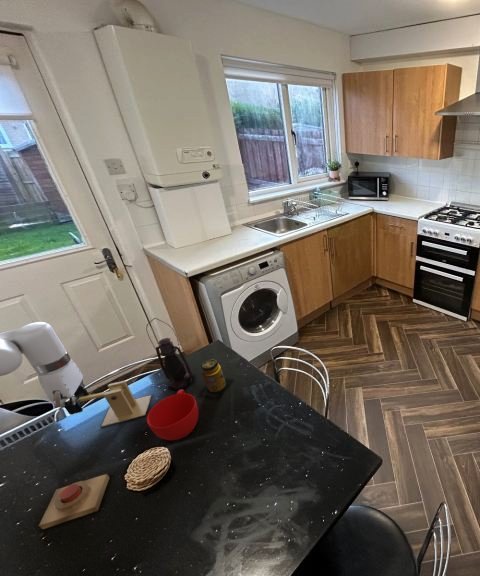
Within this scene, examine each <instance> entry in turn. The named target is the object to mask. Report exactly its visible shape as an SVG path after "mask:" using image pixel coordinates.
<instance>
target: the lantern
mask: <svg viewBox="0 0 480 576" xmlns="http://www.w3.org/2000/svg"><path fill="white" fill-rule="evenodd" d="M155 319H156V320H158V321H159V322H162V323H164V324H166V325H167V326H169V324H168V323H167V322H165V321H163V320H162V319H158V318H157V317H153V318H152V319H151V320H150V321H149V322H148V323H147V324H146V328H145V331H146V334H147V336H148V339H149V340H150V343H151V344H152V347H154V350H155V352H156V356H157V359H158V362H159V365H160V368H161V370H162V372H163V374H164V377H165V378H166V379H167V380H169V388H172V389H174V390H180V389H183V388H185V387H187V386H188V385H189V384H191V383H192V381H193V380H192V379H194V375H193V373H192V370H191V368H190V365H189V363H188V361H187V359H186V358H185V356H184V354H183V352H182V350H181V348H180V347H181V346H180V343H179V338H178V336H177V335H176V332H175V331H174V328H173V327H171V326H170V328H171V330H172V331H173V334H174V335H175V337H176V341H177V345H178V346H176V345H174V343H173V341H172V340H171V338H169V337H165V338H162V339H160V340H159V341H158V343H157V344H158V345H159V346H156V347H155V345H154V343H153V341H152V339H151V337H150V335H149V331H148V325H150V323H152V322H153V321H154V320H155ZM162 357H164V362H163V358H162Z"/></svg>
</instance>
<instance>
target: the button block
mask: <svg viewBox="0 0 480 576" xmlns="http://www.w3.org/2000/svg"><path fill="white" fill-rule="evenodd" d="M109 480H110V476H109V475H108V474H107V473H105V474H101V475H99V476H95V477H92V478H89V479H85V480H80V481H77V482H73V483H72V484H77V485H78V486H79V487H80V488H81V490H82V491H81V493H80V495H79V496H78V497H77V498H76V499H74V500H72V501H71V502H67V503H65V502H63V501H62V500H61V499H60V494H61V492H62V491H63V490H64V489H65V488H66V487H68V486H70V485H72V484H69V485H66V486H64V487H61V488H57V489H55V491H54V493H53V495H52V498H51V499H50V502H49V503H48V505H47V508H46V510H45V512H44V514H43V516H42V518H41V519H40V522H39V524H38V527H39V528H40V529H41V530H45V529H49V528H52V527H54V526H57V525H60V524H63V523H66V522H69V521H72V520H74V519H78V518H81V517H84V516H86V515H90V514H92V513H95V512H98V511H99V509H100V506H101V503H102V501H103V497H104V495H105V491H106V489H107V486H108V484H109Z"/></svg>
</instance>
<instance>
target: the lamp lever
mask: <svg viewBox="0 0 480 576" xmlns="http://www.w3.org/2000/svg"><path fill="white" fill-rule="evenodd" d="M119 389H121V390H122V391H123V392H124V389H123V387H122V386H117V387H112V388H111V389H109V390H107V391H103V392H98V393H93V394H89V395H88V396H84V393H79V394H78V395H77V397H75V398H74V399H75V401H76V402H78V403H79V404H80V403H81V402H86V401H89V400H96V399H99V398H105V397H104V393H107V392H111V391H115V390H119ZM83 396H84V397H83Z"/></svg>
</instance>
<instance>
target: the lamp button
mask: <svg viewBox="0 0 480 576" xmlns="http://www.w3.org/2000/svg"><path fill="white" fill-rule="evenodd" d="M69 485H70V486H69ZM69 485H67V486H68V487H66V486H65V487H66V488H65V489H64V490H63V491H62V492H61V494H60V499H61V500H62V501H63V502H65V503H67V502H71V501H72V500H74V499H76V498H77V497H78V496H79V495H80V493H81V491H82V490H81V488H80V487H79V486H78V485H77V484H73V483H72V485H71V484H69Z"/></svg>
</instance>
